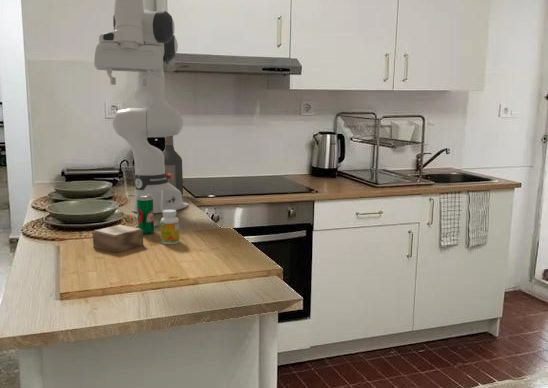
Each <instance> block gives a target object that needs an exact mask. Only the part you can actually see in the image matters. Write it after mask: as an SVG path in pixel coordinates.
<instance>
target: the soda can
mask: <svg viewBox="0 0 548 388" xmlns="http://www.w3.org/2000/svg"><path fill="white" fill-rule="evenodd" d="M136 214H137V228H139V229H141V230H143V235H151V234H153V233H154V232H155V217H154V216H155V213H154V209H153V198H152V196H151V195H140V196H138V199H137V212H136Z"/></svg>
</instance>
